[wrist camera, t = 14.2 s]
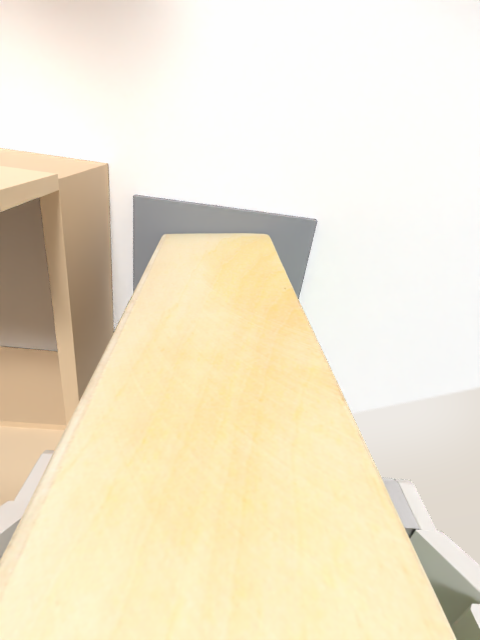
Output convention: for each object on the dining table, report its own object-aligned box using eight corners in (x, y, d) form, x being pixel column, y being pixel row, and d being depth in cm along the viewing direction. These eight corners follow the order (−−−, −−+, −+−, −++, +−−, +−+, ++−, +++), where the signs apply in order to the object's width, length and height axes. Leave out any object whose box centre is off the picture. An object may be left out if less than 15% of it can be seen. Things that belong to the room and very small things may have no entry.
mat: (315, 219, 22) (317, 220, 22) (281, 363, 27) (282, 367, 27) (135, 194, 21) (133, 196, 21) (134, 350, 26) (133, 354, 26)
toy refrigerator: (274, 342, 26) (411, 888, 7) (172, 343, 25) (42, 920, 7) (282, 232, 22) (609, 788, 3) (162, 232, 22) (-188, 849, 3)
